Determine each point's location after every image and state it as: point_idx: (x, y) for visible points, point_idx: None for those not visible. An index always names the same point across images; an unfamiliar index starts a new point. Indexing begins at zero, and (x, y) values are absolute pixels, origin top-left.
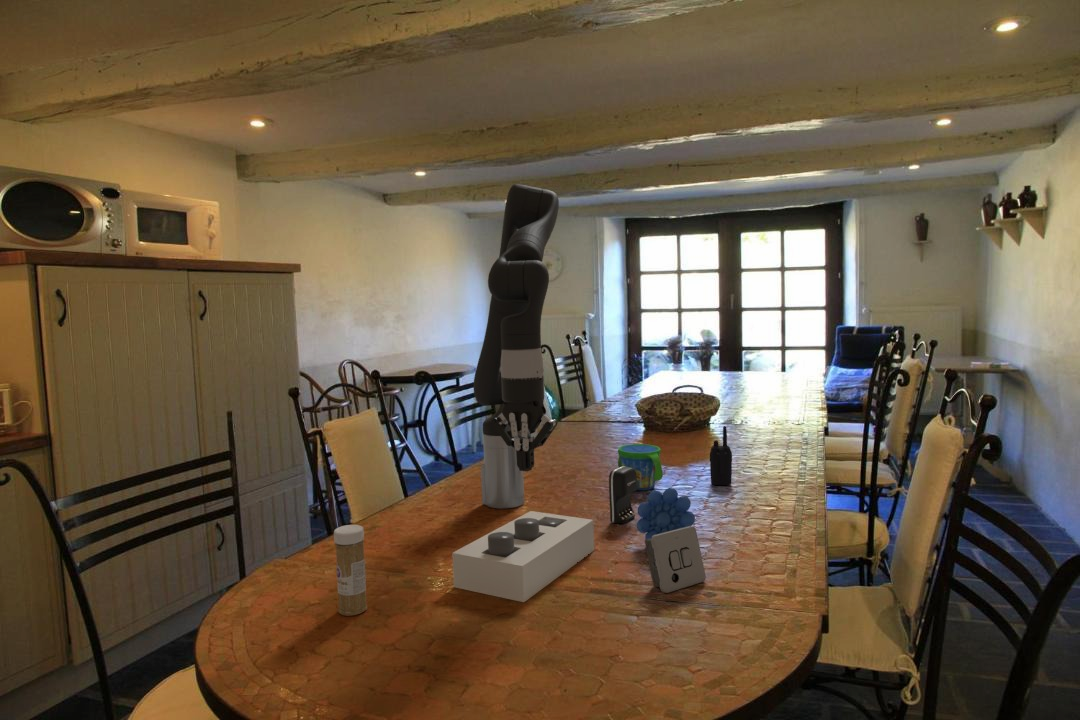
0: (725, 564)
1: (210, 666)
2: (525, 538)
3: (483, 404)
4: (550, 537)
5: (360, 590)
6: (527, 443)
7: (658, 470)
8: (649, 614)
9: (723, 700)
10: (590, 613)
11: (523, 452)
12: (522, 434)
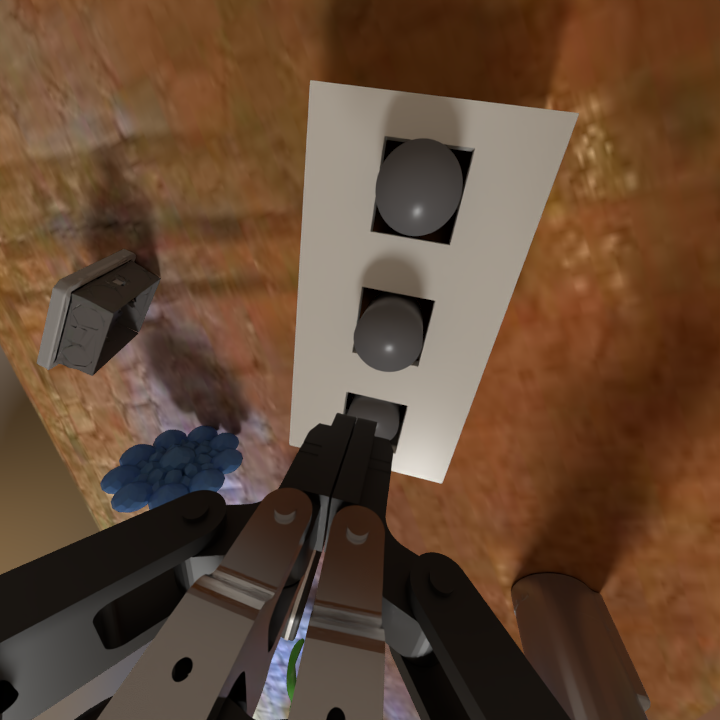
0: (118, 386)
1: None
2: (383, 298)
3: None
4: (330, 326)
5: None
6: (249, 537)
7: (292, 658)
8: (110, 152)
9: None
10: (194, 112)
11: (319, 487)
12: (236, 633)
